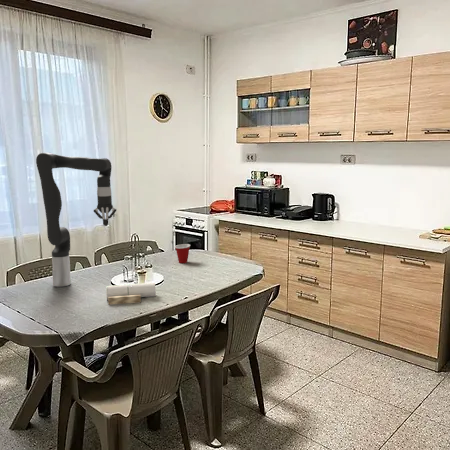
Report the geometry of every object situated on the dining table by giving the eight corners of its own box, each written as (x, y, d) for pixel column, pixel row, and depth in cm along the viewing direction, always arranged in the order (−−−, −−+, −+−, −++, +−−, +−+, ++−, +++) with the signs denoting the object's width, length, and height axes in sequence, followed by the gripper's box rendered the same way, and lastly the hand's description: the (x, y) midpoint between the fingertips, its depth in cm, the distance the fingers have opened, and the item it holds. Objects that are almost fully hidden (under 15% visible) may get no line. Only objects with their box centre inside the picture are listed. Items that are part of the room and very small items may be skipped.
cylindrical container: (107, 293, 235) (154, 290, 241) (107, 302, 230) (155, 299, 235) (106, 283, 232) (154, 280, 237) (106, 292, 226) (155, 288, 231)
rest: (108, 304, 224) (108, 298, 223) (109, 295, 237) (109, 289, 236) (140, 302, 227) (140, 295, 227) (139, 293, 241) (139, 287, 240)
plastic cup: (174, 260, 308) (173, 243, 306) (189, 260, 310) (189, 243, 308) (175, 264, 298) (175, 247, 296) (191, 264, 300) (191, 246, 297)
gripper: (116, 193, 249) (118, 224, 252) (92, 194, 246) (93, 225, 249) (116, 195, 242) (117, 226, 245) (91, 195, 239) (93, 227, 242)
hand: (105, 225), depth 247 cm, fingers closed
